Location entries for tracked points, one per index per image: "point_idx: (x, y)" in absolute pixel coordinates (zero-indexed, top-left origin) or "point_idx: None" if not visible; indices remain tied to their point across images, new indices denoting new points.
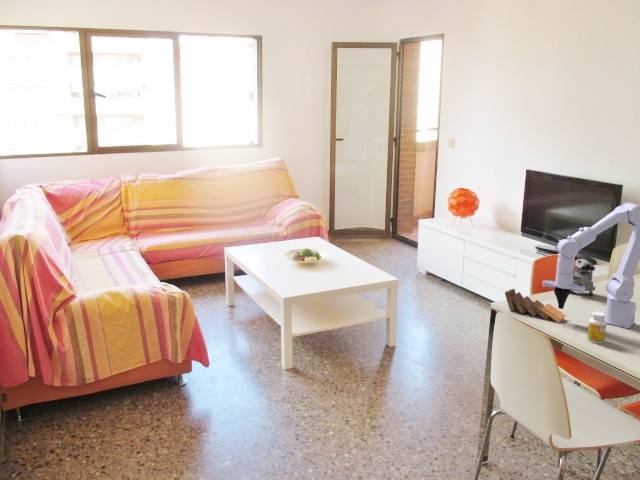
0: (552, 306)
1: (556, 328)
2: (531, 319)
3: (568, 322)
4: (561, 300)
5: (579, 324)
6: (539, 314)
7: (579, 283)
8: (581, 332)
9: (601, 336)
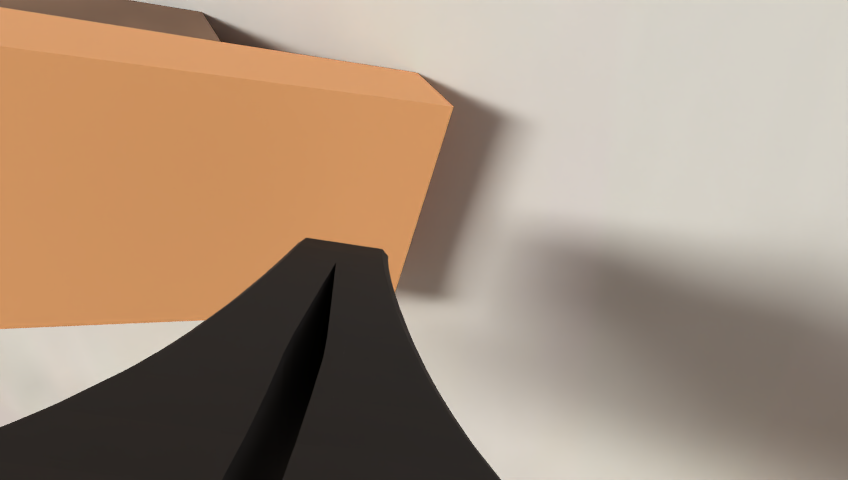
0: (126, 88)
1: None
2: None
3: (500, 197)
4: (292, 416)
5: (660, 215)
6: None
7: None
8: (644, 459)
9: None
